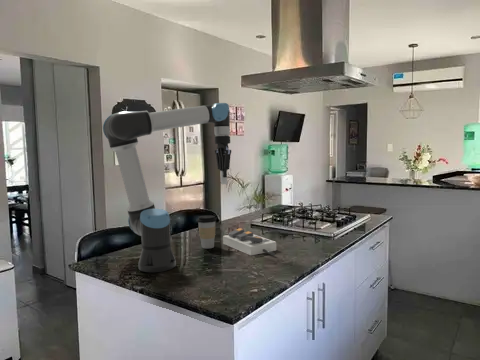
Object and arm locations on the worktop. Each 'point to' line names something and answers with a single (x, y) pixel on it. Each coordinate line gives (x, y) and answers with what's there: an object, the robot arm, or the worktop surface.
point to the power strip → (251, 245)
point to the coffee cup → (207, 230)
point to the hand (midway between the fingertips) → (224, 184)
